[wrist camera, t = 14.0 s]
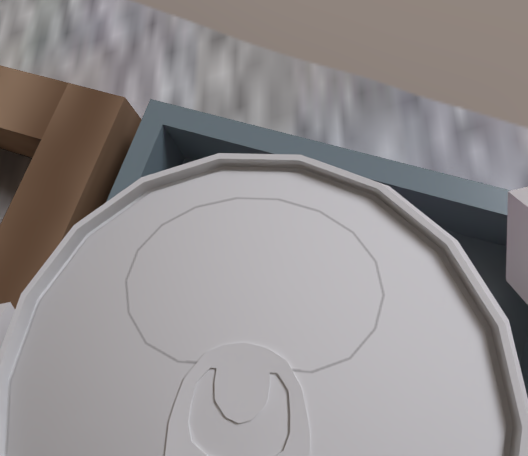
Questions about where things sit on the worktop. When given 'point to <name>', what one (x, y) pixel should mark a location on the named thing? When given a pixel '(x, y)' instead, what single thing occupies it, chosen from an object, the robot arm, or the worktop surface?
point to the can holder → (55, 165)
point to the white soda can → (259, 325)
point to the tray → (372, 167)
